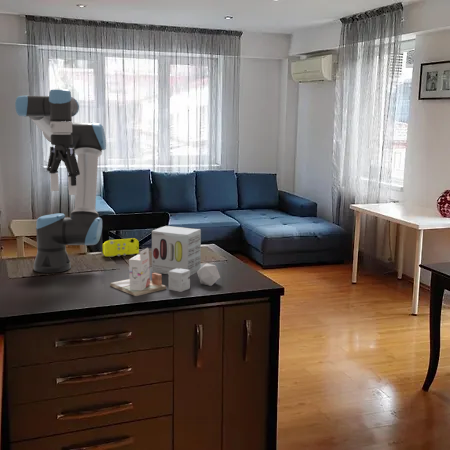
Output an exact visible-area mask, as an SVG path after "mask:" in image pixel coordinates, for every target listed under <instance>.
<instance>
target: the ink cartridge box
mask: <svg viewBox="0 0 450 450" xmlns="http://www.w3.org/2000/svg"><path fill="white" fill-rule="evenodd" d="M144 253H145V254H144ZM128 267H129V268H128V269H129V270H128V273H129V279H130V290H138V291H142V290H143V289H144V288H146V287H147V286H148V285H150V278H151V277H150V276H151V275H150V274H151V273H150V269H151V268H150V250H149V247H146V248H145V249H143V250H141V251H139V253H138V254H136V255H133V257H131V258H129V259H128Z"/></svg>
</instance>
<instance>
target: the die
mask: <svg viewBox="0 0 450 450" xmlns="http://www.w3.org/2000/svg"><path fill="white" fill-rule="evenodd" d="M196 274H197V277H198V280H199V282H200V284H201V285H206V286H210V287H212V286H213V285H214V284H215V283H216V282H217V281H218V280H219V279H221V275H220V272H219V270H218V267H217V265H215V264H211V263H205V264H203V265H201V268H200V269H199V270H198V271H197V272H196Z"/></svg>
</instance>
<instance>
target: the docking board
mask: <svg viewBox="0 0 450 450" xmlns="http://www.w3.org/2000/svg"><path fill="white" fill-rule="evenodd" d="M162 277H163V276H162V273H156V272H151V280H150V285H148V286H147V287H146V288H144V289H143V290H142V291H138V290H130V278H128V279H122V280H119V281H118V280H117V281H114V282H110V283H109V284H110V285H109V286H110V287H112V288H115V289H116V290H119V291H121V292H124V293H127V294H129V295H132V296H134V297H138V296H142V295H143V296H144V295H146V294H147V295H148V294H150V293H151V294H152V293H155V292H159V291H163V290H166V289H167V285H165V284H163V282H162V281H163V280H162V279H163V278H162Z"/></svg>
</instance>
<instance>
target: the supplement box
mask: <svg viewBox="0 0 450 450" xmlns="http://www.w3.org/2000/svg"><path fill="white" fill-rule="evenodd" d="M201 233H202V230H201V228H193V227H192V228H190V227H183V226H181V227H180V226H171V225H165V226H160V227H158V228H156V229H154V230H151V273H155V272H156V273H159V274H161V275H162V274H164V275H169V271H171V270H173V269H177V268H181V269H187V270H190V277H191V276H192V275H194V274H197V271H198V270H199V269H200V268H201V267H202V265H201V262H202V260H201V259H202V257H201V256H202V255H201V254H202V253H201V252H202V251H201V247H202V244H201V243H202V241H201V240H202V239H201V238H202V234H201Z"/></svg>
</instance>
